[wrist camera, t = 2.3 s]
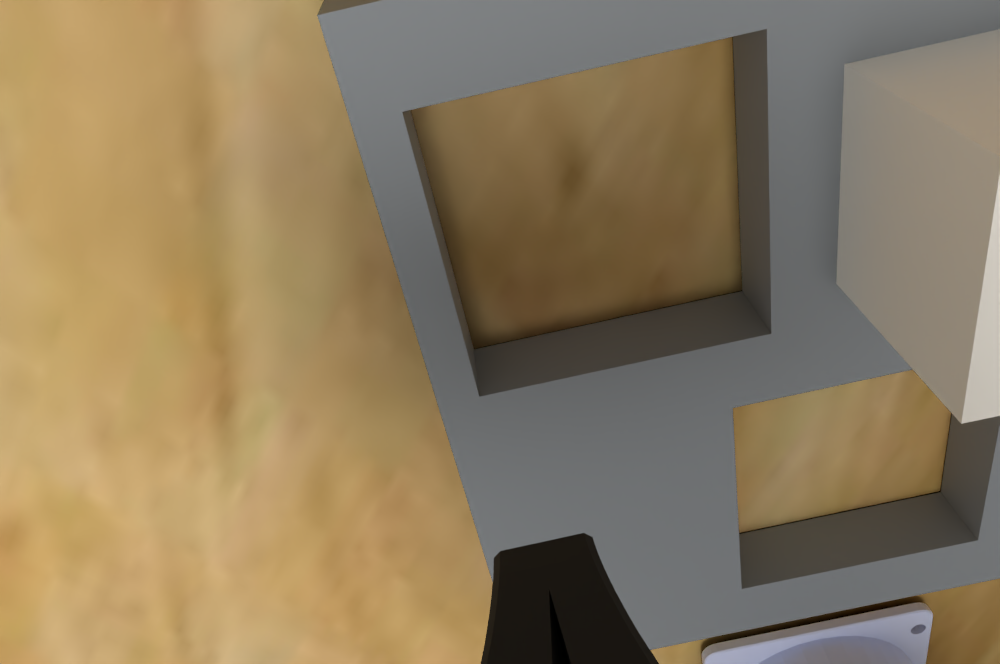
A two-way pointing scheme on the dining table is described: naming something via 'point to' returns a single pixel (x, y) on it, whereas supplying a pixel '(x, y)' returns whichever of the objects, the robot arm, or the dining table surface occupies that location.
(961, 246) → the block
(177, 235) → the dining table surface
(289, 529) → the dining table surface
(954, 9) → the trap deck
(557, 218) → the dining table surface
